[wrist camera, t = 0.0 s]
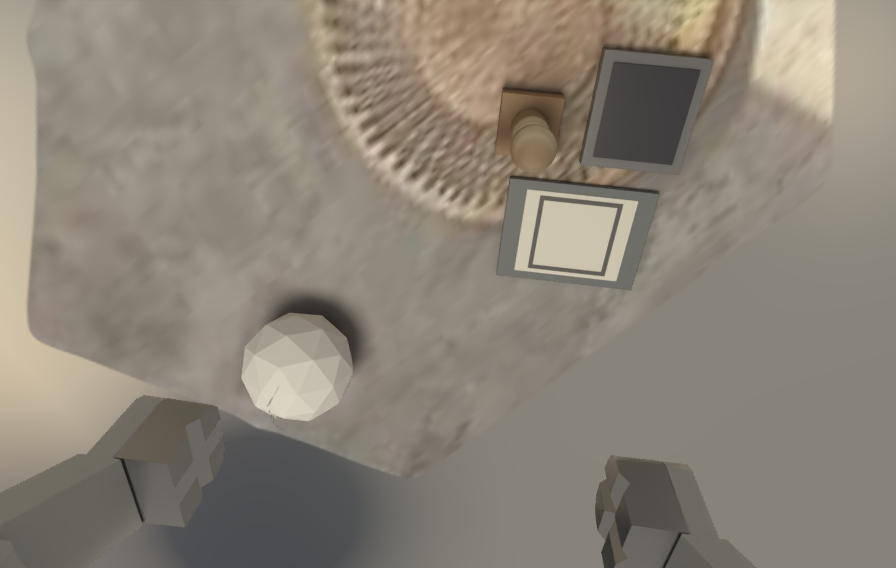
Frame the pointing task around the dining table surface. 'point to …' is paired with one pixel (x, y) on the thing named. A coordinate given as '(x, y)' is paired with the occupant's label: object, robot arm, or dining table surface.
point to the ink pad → (643, 110)
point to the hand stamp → (529, 127)
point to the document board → (574, 232)
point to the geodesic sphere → (297, 367)
